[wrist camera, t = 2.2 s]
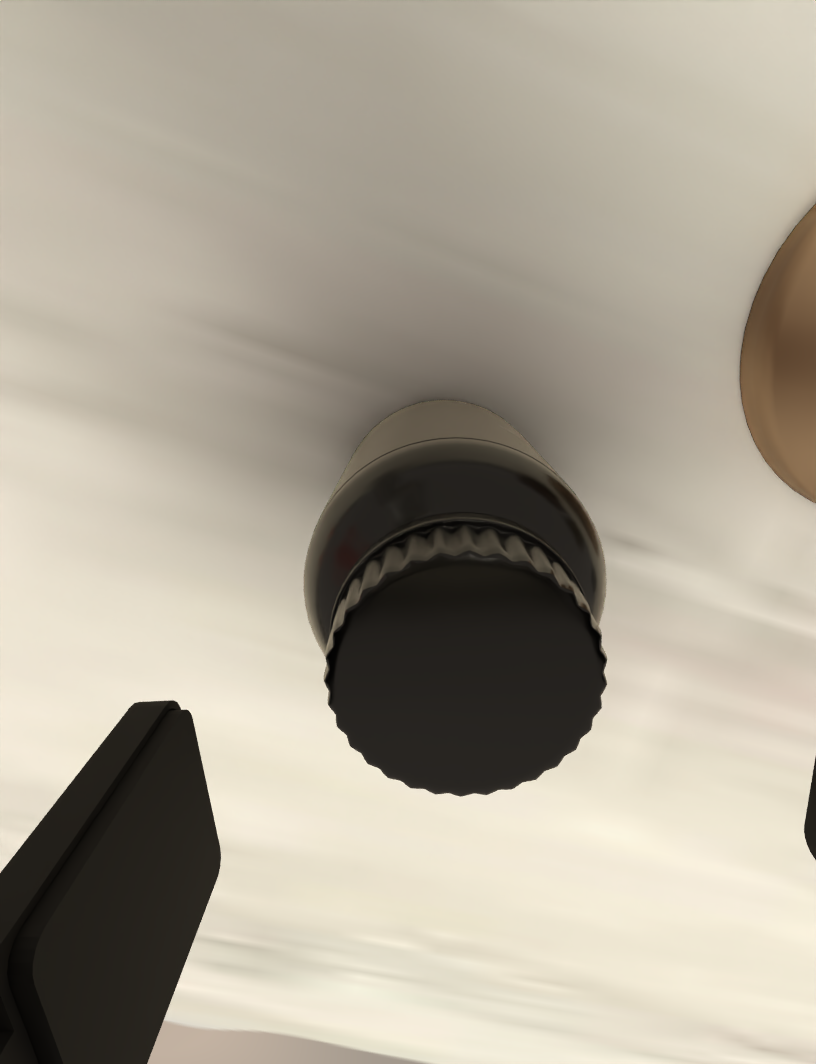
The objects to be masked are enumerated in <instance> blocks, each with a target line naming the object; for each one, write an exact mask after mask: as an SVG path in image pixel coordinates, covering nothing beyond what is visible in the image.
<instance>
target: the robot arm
mask: <svg viewBox="0 0 816 1064" xmlns="http://www.w3.org/2000/svg"><path fill="white" fill-rule="evenodd" d="M804 833H805V839H806V842H807V845H808V847H809V850H810V852H811V853H812V855H813V857H814V858H815V860H816V758H815V764H814V770H813V776H812V782H811V789H810V795H809V801H808V807H807V813H806V819H805V825H804ZM220 861H221V852H220V845H219V840H218V836H217V831H216V826H215V822H214V817H213V812H212V808H211V803H210V798H209V793H208V789H207V784H206V779H205V775H204V770H203V765H202V761H201V756H200V751H199V746H198V742H197V737H196V732H195V728H194V723H193V719H192V715H191V713H190V712H189V711H188V710H181V708H180V706H179V704H178V703H177V702H175V701H153V702H138V703H134V704H133V705H132V706H131V707H130V708H129V709H128V711H127V712H126V713H125V715H124V716H123V717H122V718H121V720H120V721H119V722H118V724H117V725H116V726H115V727H114V729H113V730H112V731H111V732H110V734H109V735H108V736H107V738H106V739H105V740H104V741H103V743H102V744H101V745H100V747H99V748H98V749H97V750H96V752H95V753H94V754H93V755H92V757H91V758H90V759H89V761H88V762H87V763H86V764H85V766H84V767H83V768H82V770H81V771H80V772H79V773H78V775H77V776H76V777H75V778H74V780H73V781H72V782H71V784H70V785H69V786H68V787H67V789H66V790H65V791H64V792H63V794H62V795H61V796H60V798H59V799H58V800H57V801H56V803H55V804H54V805H53V807H52V808H51V809H50V810H49V812H48V813H47V814H46V815H45V817H44V818H43V819H42V821H41V822H40V823H39V824H38V826H37V827H36V828H35V830H34V831H33V832H32V833H31V835H30V836H29V837H28V838H27V840H26V841H25V842H24V844H23V845H22V846H21V847H20V849H19V850H18V851H17V853H16V854H15V855H14V856H13V858H12V859H11V860H10V861H9V863H8V864H7V865H6V867H5V868H4V869H3V870H2V872H1V873H0V1064H147V1062H148V1059H149V1057H150V1054H151V1052H152V1049H153V1046H154V1044H155V1041H156V1038H157V1036H158V1033H159V1031H160V1028H161V1025H162V1023H163V1020H164V1017H165V1015H166V1012H167V1010H168V1007H169V1004H170V1002H171V999H172V996H173V994H174V991H175V988H176V986H177V983H178V980H179V978H180V975H181V972H182V970H183V967H184V965H185V962H186V959H187V957H188V954H189V951H190V949H191V946H192V943H193V941H194V938H195V935H196V933H197V930H198V928H199V925H200V922H201V920H202V917H203V914H204V912H205V909H206V906H207V904H208V901H209V898H210V896H211V893H212V891H213V888H214V885H215V883H216V880H217V877H218V874H219V869H220Z"/></svg>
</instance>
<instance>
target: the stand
mask: <svg viewBox="0 0 816 1064" xmlns="http://www.w3.org/2000/svg"><path fill="white" fill-rule="evenodd" d="M740 383H741V394H742V403H743V407H744V412H745V416H746V420H747V424H748V427H749V429H750V432H751V434H752V437H753V439H754V442H755V444H756V446H757V447H758V449H759V451H760V452H761V454H762V456H763V457H764V459H765V461H766V462H767V463H768V465H769V466H770V467H771V468H772V469H773V471H774V472H775V473H776V474H777V475H778V477H779V478H780V479H782V480H783V481H784V482H785V483H786V484H787V485H788V486H790V487H791V488H792V489H793V490H794V491H796V492H797V493H799V494H801V495H802V496H804V497H805V498H807V499H809V500H810V501H812V502H814V503H816V204H815V205H814V206H813V207H812V209H811V210H810V211H809V212H808V213H807V214H806V215H805V217H804V218H803V219H802V220H801V221H800V222H799V223H798V225H797V226H796V227H795V228H794V230H793V231H792V233H791V234H790V235H789V237H788V238H787V240H786V241H785V243H784V244H783V245H782V247H781V248H780V250H779V251H778V253H777V255H776V256H775V258H774V260H773V262H772V264H771V265H770V267H769V269H768V271H767V273H766V274H765V276H764V278H763V281H762V283H761V285H760V288H759V290H758V292H757V295H756V297H755V300H754V302H753V305H752V308H751V312H750V315H749V319H748V322H747V325H746V329H745V335H744V341H743V346H742V352H741V370H740Z"/></svg>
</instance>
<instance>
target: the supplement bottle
mask: <svg viewBox="0 0 816 1064" xmlns="http://www.w3.org/2000/svg"><path fill="white" fill-rule="evenodd" d="M605 596H606V566H605V559H604V553H603V549H602V545H601V542H600V538H599V536H598V533H597V531H596V528H595V526H594V524H593V522H592V520H591V518H590V516H589V514H588V512H587V511H586V509H585V508H584V506H583V505H582V503H581V502H580V500H579V499H578V497H577V496H576V494H575V493H574V492H573V491H572V490H571V488H570V487H569V486H568V485H567V484H566V483H565V481H564V480H563V479H562V478H561V477H560V476H559V475H558V474H557V473H556V472H555V471H554V469H553V468H552V467H551V466H550V465H549V464H548V463H547V462H546V461H545V460H544V459H543V458H542V457H541V455H540V454H539V453H538V452H537V451H536V450H535V449H534V448H533V447H532V446H531V445H530V444H529V442H528V441H527V440H526V439H525V438H524V437H523V436H522V435H521V434H520V433H519V432H518V431H517V430H516V429H515V428H514V427H512V426H511V425H510V424H509V423H508V422H507V421H505V420H504V419H503V418H501V417H500V416H498V415H496V414H495V413H493V412H491V411H489V410H487V409H485V408H483V407H480V406H477V405H474V404H471V403H467V402H462V401H456V400H433V401H426V402H421V403H417V404H414V405H411V406H408V407H405V408H403V409H401V410H399V411H397V412H395V413H393V414H392V415H390V416H388V417H387V418H385V419H384V420H383V421H381V422H380V423H379V424H378V425H377V426H375V427H374V428H373V429H372V430H371V431H370V432H369V433H368V435H367V436H366V437H365V438H364V439H363V441H362V442H361V444H360V445H359V446H358V448H357V449H356V451H355V453H354V454H353V456H352V458H351V460H350V462H349V463H348V465H347V467H346V469H345V471H344V473H343V475H342V477H341V478H340V480H339V482H338V484H337V486H336V488H335V490H334V492H333V494H332V495H331V497H330V499H329V501H328V503H327V505H326V507H325V509H324V511H323V512H322V514H321V516H320V519H319V521H318V523H317V525H316V528H315V530H314V533H313V536H312V539H311V542H310V545H309V548H308V552H307V557H306V562H305V569H304V597H305V606H306V610H307V615H308V619H309V622H310V625H311V628H312V631H313V634H314V636H315V638H316V640H317V643H318V645H319V647H320V648H321V650H322V652H323V653H324V655H325V657H326V662H327V665H326V669H325V672H324V682H325V684H326V687H327V688H328V690H329V693H328V705H329V707H330V708H331V709H332V710H333V711H334V713H335V714H336V723H337V727H338V728H339V729H340V730H341V731H342V732H344V733H345V734H346V735H347V738H348V741H349V744H350V746H351V747H352V748H354V749H355V750H357V751H358V752H360V753H362V755H363V757H364V759H365V760H366V762H367V764H370V765H372V766H374V767H377V768H379V769H380V770H381V771H382V772H383V773H384V774H385V775H386V776H387V777H388V778H391V779H396V780H400V781H402V782H404V783H405V784H406V785H407V786H408V787H410V788H416V789H426V790H428V791H429V792H432V793H434V794H444V793H451V794H454V795H457V796H465V795H469V794H473V793H477V794H483V795H488V794H490V793H493V792H495V791H497V790H501V789H504V790H508V789H513V788H515V787H516V786H518V785H519V784H521V783H522V782H526V781H532V780H536V779H537V778H538V777H539V776H540V775H541V774H542V773H543V772H544V771H546V770H549V769H552V768H554V767H557V766H558V765H559V763H560V762H561V761H562V759H563V757H564V756H566V755H567V754H569V753H571V752H573V751H574V750H576V748H577V746H578V744H579V741H580V739H581V738H582V737H583V736H584V735H586V734H587V733H588V732H589V731H590V730H591V727H592V721H593V717H594V716H595V715H596V714H597V713H598V712H599V710H600V709H601V708H602V707H601V695H602V693H603V691H604V689H605V687H606V685H607V681H606V677H605V674H604V668H605V666H606V662H607V656H606V653H605V651H604V649H603V647H602V646H601V639H602V635H601V630H600V628H599V623H600V620H601V616H602V612H603V608H604V602H605Z"/></svg>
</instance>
